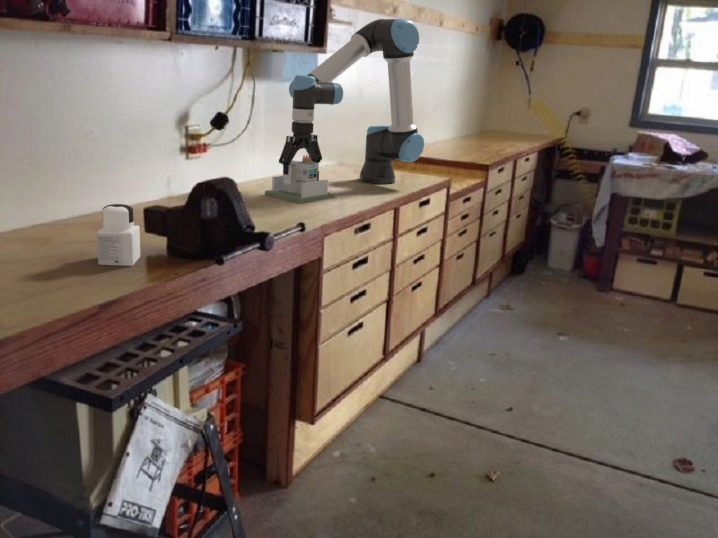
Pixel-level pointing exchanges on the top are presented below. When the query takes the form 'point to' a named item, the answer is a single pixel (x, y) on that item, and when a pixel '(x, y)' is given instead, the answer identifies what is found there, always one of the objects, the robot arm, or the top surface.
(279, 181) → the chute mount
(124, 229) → the container
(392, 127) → the robot arm
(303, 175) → the light bulb box
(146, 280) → the top surface
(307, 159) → the ammunition clip
